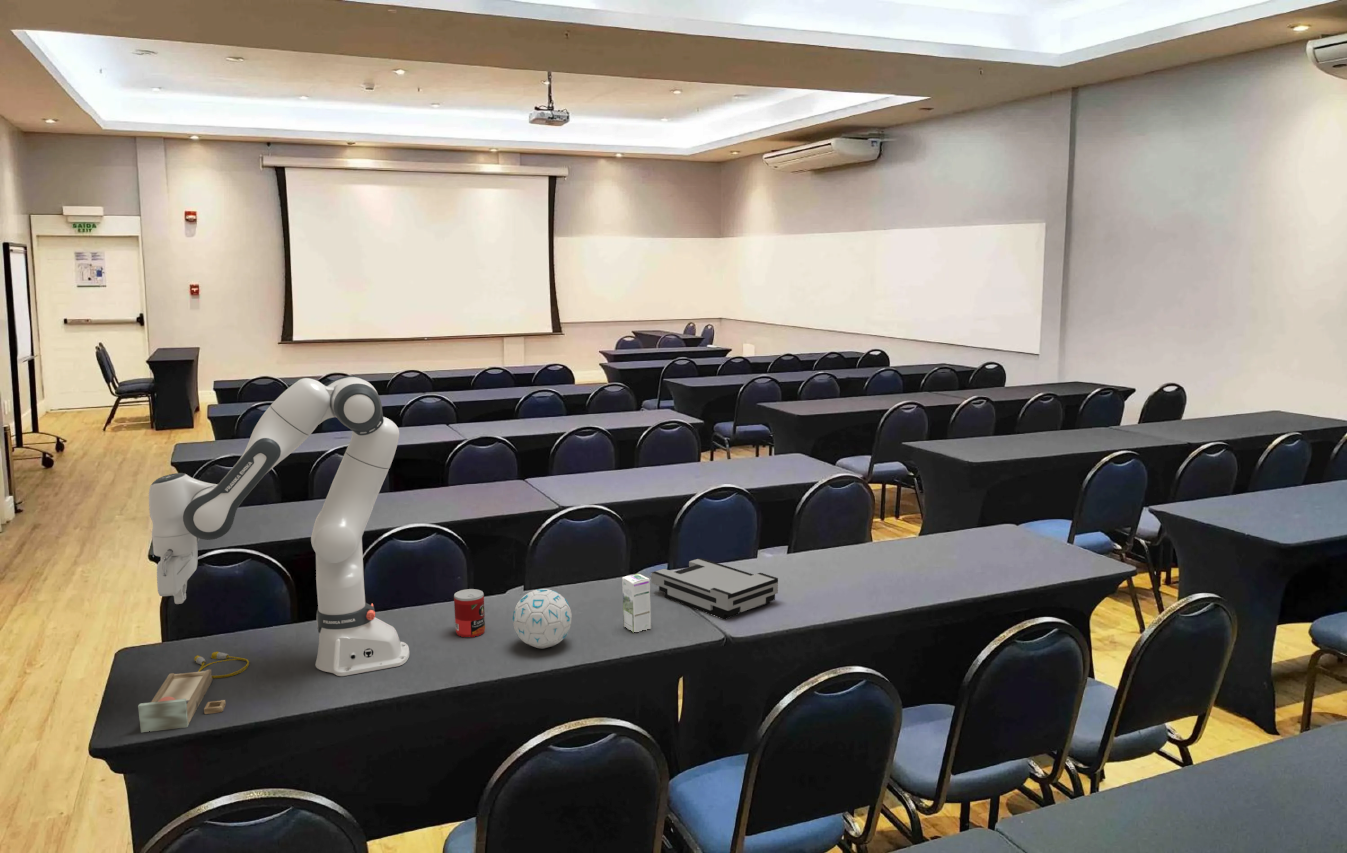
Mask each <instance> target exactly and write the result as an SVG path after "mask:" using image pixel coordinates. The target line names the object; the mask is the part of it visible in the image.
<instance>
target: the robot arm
mask: <svg viewBox="0 0 1347 853" xmlns="http://www.w3.org/2000/svg"><path fill="white" fill-rule="evenodd" d="M332 418H333V419H334V418H337V420H338V421H339V422H340V423H341V424H342V425H343V426H345V427H347V428H348V429H350V430H351V438H350V441H349V443H348V445H347V447H346V449H345V452H344V454H343V457H342V459H341V462H340V464H339V466H338V469H337V471H336V473H335V475H334V478H333V480H332V483H331V484H330V488H329V491H328V493H327V495H326V497H325V500H324V502H323V505H322V508H321V509H320V512H318V514H317V516H316V518H315V521H314V524H313V527H312V531H311V536H310V542H311V547H312V549H313V551H314V552H315V570H316V571H315V573H316V574H315V576H316V577H315V580H316V595H317V597H316V598H317V605H318V606H317V610H316V615H315V616H316V627H317V631H318V633H319V635H318V646H317V647H318V649H317V653H316V654H317V656H316V659H315V660H316V661H315V663H314V664H315V665H314V666H315V668H316V669H317V670H320V671H322V672H327V673H331V674H334V675H336V676H337V677H346V676H351V675H356V674H361V673H368V672H373V671H379V670H384V669H385V670H386V669H389V668H390V669H391V668H395V667H399V666H402V665H404V664H405V663H406V662H407V661H408V660H409V658H410V647H409V645H408V643H406V642H404V641H401V640H400V637H399V634H398V631H397V630H396V628H395V627H394V626H393V625H390V624H388V623H387V622H385V621H383V620H381V619H379V618H377V617H376V611H375V606H374V604H373V603H371V604H369V603H367V602H366V594H365V580H364V560H363V558H364V557H363V535H364V532H365V530H366V527H367V524H368V522H369V520H370V517H371V515H372V512H373V509H374V507H375V503H376V501H377V498H378V497H379V494H380V491H381V489H382V486H383V484H384V481H385V479H386V477H387V475H388V472H389V471H390V470H389V469H390V468H391V466H392V462H393V460H394V458H395V454H396V450H397V447H398V444H399V440H400V429H399V427H398V426H397V424H396V423H395V422H394V421H393V420H392V419H389V418H387V417H385V416H384V413H383V405H382V400H381V397H380V396H379V394H378V391H377V390H376V388H375V387H374V385H372V384H371V383H370V382H369V381H368V380H366V379H365V378H363V377H361V376H358V375H344V376H342V377H338V378H337V379H333V380H330V381H328V382H325V383H324V384H323V383H322V382H320V381H318V380H317V379H314V378H309V377H303V378H300V379H299V380H297V381H296V382H295V383H293V384H292V385H290V386H289V387H288V388H287V389H285V390H284V391H283V392H282V393H281V394H280V395H279V396H278V397H277V398H276V399H275V400H273V402H272V403H271V404H270V406H268V408H267V409H266V410H265V411H264V413H263V414H262V415H261V417H260V418H259V420H258V422H257V423H256V425H255V426H254V428H253V430H252V433H251V434H250V438H249V440H248V443H247V444H246V447H245V450H244V451H243V453H242V455H241V456H240V458H239V459H238V460H237V462H236V463H235V464H234V465H233V467H232V468H231V469H230V470H229V471H228V472H227V474H226V475H225V476H224V477H223V478H222V479H221V480H220V482H218V483H217V484H216V483H210V482H206V481H202V480H199V479H196V478H194V477H191V476H190V475H188V474H186V473H185V472H184V473H183V472H178V473H177V472H176V473H171V474H167V475H163V476H161V477H158V478H156V479H155V480H154V481H153V482H152V483H151V485H150V486H149V491H148V507H149V509H148V510H149V517H150V520H151V521H152V522H151V523H152V529H151V536H152V540H151V541H152V549H153V550H152V551H153V555H155V556H156V557H160V561H158V563H157V565H156V583H157V584H156V586H157V593H158V595H159V596H160V597H170V596H173V600H174V604H176V605H179V604H183V603H184V602H185V601H186V599H187V593H186V592H187V587H188V580H189V579H190V578H191V576H193V574H194V573H195V571H196V570H197V569H198V543H199V541H200V540H204V541H205V540H209V541H211V540H215V539H220V538H221V537H223V536H225V535H226V534H227V533H228V532H229V531H230V530H231V528H232V526H233V524H234V520H235V517H236V513H237V511H238V509H239V507H240V505H241V504H242V503H243V501H244V500H245V499H246V498H247V497H248V495H249V494H250V493H251V492H252V490H253V489H254V488H255V487H256V486H257V484H259V482H260V481H261V480H262V479H263V478H264V476H265V475H267V473H269V472H270V471H271V470H272V469H274V467H275V466H277V465H279V463H280V462H282V461H283V460H285V459H286V458H287V457H288V456H289V455H290V454H292V453H293V452H294V451H296V450H297V449H298V448H299V447H300V446H301V445H302V444H303V443H304V442H305V441H306V440H307V439H308V438H309V437H310V436H311V434H312V433H313V432H314V431H315V430H316V429H317V427H318V425H321V423H323V422H325V421H326V420H329V419H332Z"/></svg>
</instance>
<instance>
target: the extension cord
mask: <svg viewBox="0 0 1347 853" xmlns="http://www.w3.org/2000/svg"><path fill="white" fill-rule="evenodd" d="M211 658H212V659H214V660H216V661H213V662H212V661H211V662H209V663H207V661H206V659H205V657H203V656H200V655H196V656H194V658H193V660H194V662H195V661H196V662H195V663H196V664H197V665H201V666H200V668H199V669H198V671H197V672H201V671H203V670H204V669H205V668H207V667H208V666H210V665H213V663H214V664H217V662H218V663H222V661H223V662H227V661H228V662H229V661H244V662H247V663H246V665H244V666H243V667H242V668H240V669H239V670H236V671H233V672H231V673H227V674H221V675H220V674H219V675H212V679H222V678H228V677H233V676H236V675H238V674H242V673H243V672H244V671H245V670H247V669H248V667H249V665H250V661H249V659H247V658H244V657H237V656H230V655H229V654H228V653H226V652H220V651H218V650H217V651H213V652H212V653H211V655H210V659H211ZM217 660H218V661H217Z"/></svg>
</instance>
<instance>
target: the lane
mask: <svg viewBox="0 0 1347 853" xmlns="http://www.w3.org/2000/svg"><path fill="white" fill-rule="evenodd" d="M212 674H213V673H212V669H210V668H209V669H206V670H201V671H200V672H198V671H192V672H184V673H183V672H182V673H174V672H172V673H169V674H168V675H167V677H166V678H165V680H164V681H163V683H162V684H161V686H160V687H159V689H158V691H157V692H156V693H155V695H154V697H153V698H152V700H151V701H150V702H143V703H139V704H138V706H137V708H138V716H139V717H138V718H139V719H138V720H139V726H140V727H139V728H140V733H147V732H149V731H150V732H157V731H166V730H174V729H183V728H185V729H186V728H188V727H189V725H190V723H191V721H192V719H193V717H194V716H195V714H196V712H197V710H198V709H199V706H200V705H201V703H202V701H203V699H204V697H205V696H206V694H207V692H208V690H209V688H210V686H211V684H212V683H213V678H212V676H213V675H212ZM163 697H173V698H175V699H176V700H169V701H159V700H160V699H161V698H163ZM158 701H159V702H158Z"/></svg>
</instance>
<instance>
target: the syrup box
mask: <svg viewBox="0 0 1347 853" xmlns="http://www.w3.org/2000/svg"><path fill="white" fill-rule="evenodd" d="M621 580H622V586H621V588H622V614H623V615H622V617H623V618H622V620H623V621H622V622H623V628H624V627H626V628H627V629H626V628H625V629H626V630H628V631H629V630H631V631H632V632H631V631H630V632H631V633H633V634H635V633H634V632H639V631H642V630H646V631H648V630H647V629H650V630H651V629H652V619H651V617H652V614H651V610H652V608H651V580H650V578H649V577H646V576H644V575H642V574H641V573H633V574H628V575H626V576H622V577H621ZM639 633H640V632H639Z"/></svg>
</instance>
